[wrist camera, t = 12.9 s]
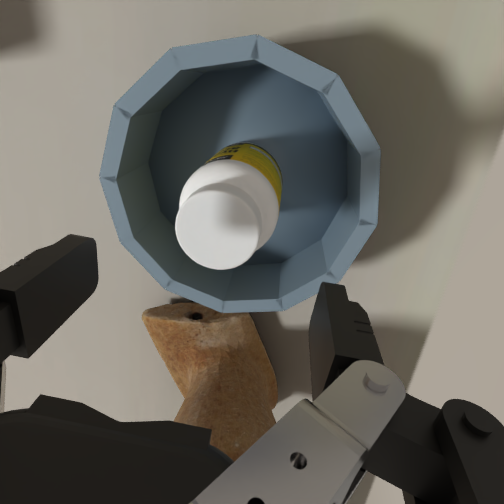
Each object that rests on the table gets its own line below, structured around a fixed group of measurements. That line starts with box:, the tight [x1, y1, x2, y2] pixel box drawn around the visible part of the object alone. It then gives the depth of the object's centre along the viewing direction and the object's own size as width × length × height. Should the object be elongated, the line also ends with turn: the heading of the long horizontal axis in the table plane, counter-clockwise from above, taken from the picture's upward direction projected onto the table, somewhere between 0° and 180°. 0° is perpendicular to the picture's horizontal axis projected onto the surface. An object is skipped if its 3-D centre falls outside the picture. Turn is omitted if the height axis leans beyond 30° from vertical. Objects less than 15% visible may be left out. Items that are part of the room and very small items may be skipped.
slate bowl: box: [99, 34, 381, 313], centre depth 22 cm, size 16×16×6 cm
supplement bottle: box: [175, 142, 283, 270], centre depth 20 cm, size 5×5×10 cm
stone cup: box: [142, 302, 278, 461], centre depth 26 cm, size 15×12×15 cm
